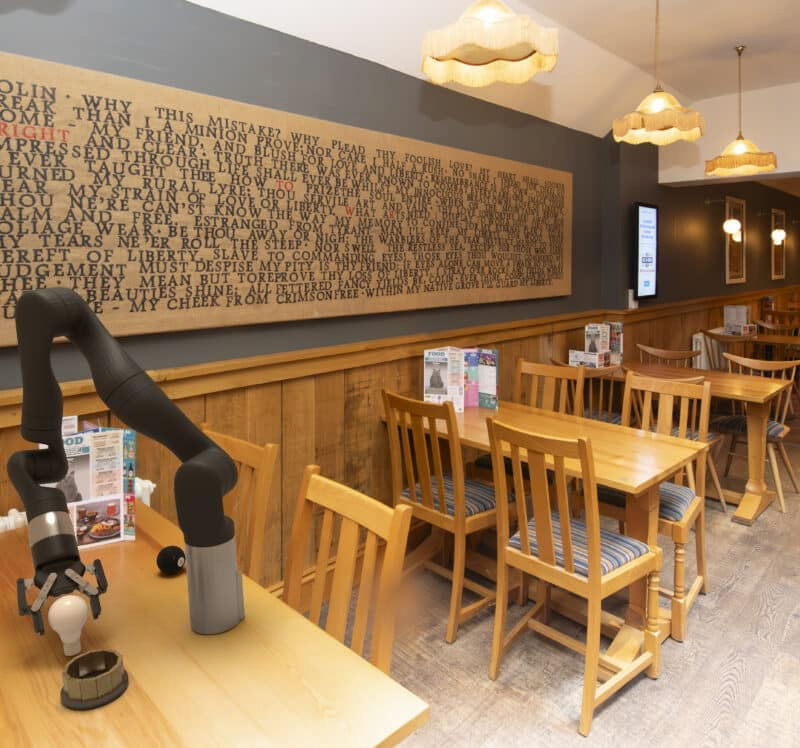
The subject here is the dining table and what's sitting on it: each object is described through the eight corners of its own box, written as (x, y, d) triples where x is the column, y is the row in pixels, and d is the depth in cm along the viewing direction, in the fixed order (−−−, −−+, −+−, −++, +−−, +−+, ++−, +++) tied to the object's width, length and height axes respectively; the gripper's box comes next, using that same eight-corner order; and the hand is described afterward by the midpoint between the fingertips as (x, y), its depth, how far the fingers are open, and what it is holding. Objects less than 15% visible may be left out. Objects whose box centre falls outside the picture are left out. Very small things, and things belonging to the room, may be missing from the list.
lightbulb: (76, 667, 112) (70, 608, 110) (44, 663, 114) (37, 604, 112) (100, 646, 118) (94, 589, 117) (69, 642, 120) (63, 586, 118)
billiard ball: (172, 580, 143) (170, 554, 142) (152, 575, 145) (149, 550, 144) (192, 568, 148) (190, 543, 147) (171, 564, 151) (169, 539, 150)
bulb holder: (114, 663, 113) (111, 639, 113) (139, 688, 106) (136, 663, 106) (51, 690, 106) (48, 665, 106) (74, 719, 99) (71, 692, 99)
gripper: (8, 543, 115) (23, 632, 108) (96, 523, 123) (115, 605, 116) (9, 560, 120) (23, 646, 113) (93, 541, 128) (111, 620, 121)
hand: (70, 625), depth 115 cm, fingers open, 8 cm apart
